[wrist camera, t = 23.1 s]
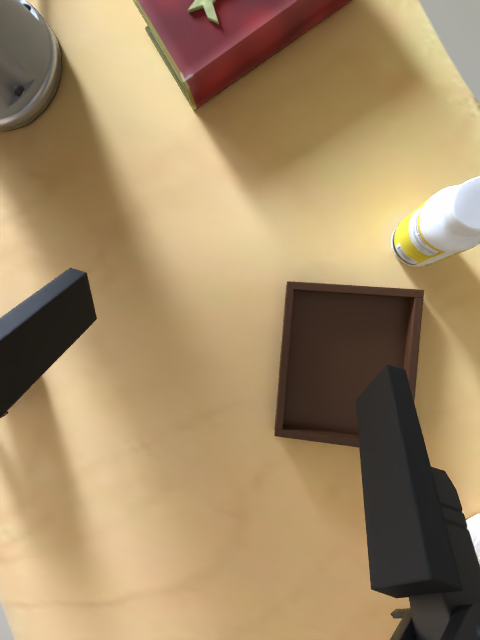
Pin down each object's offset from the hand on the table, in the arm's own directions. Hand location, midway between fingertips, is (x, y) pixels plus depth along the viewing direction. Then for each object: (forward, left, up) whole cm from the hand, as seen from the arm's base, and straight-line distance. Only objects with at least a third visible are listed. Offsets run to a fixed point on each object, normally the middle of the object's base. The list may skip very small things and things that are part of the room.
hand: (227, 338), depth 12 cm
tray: (+3, +10, -20) cm, 22 cm away
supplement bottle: (-10, +16, -20) cm, 28 cm away
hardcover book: (-35, -4, -20) cm, 41 cm away
